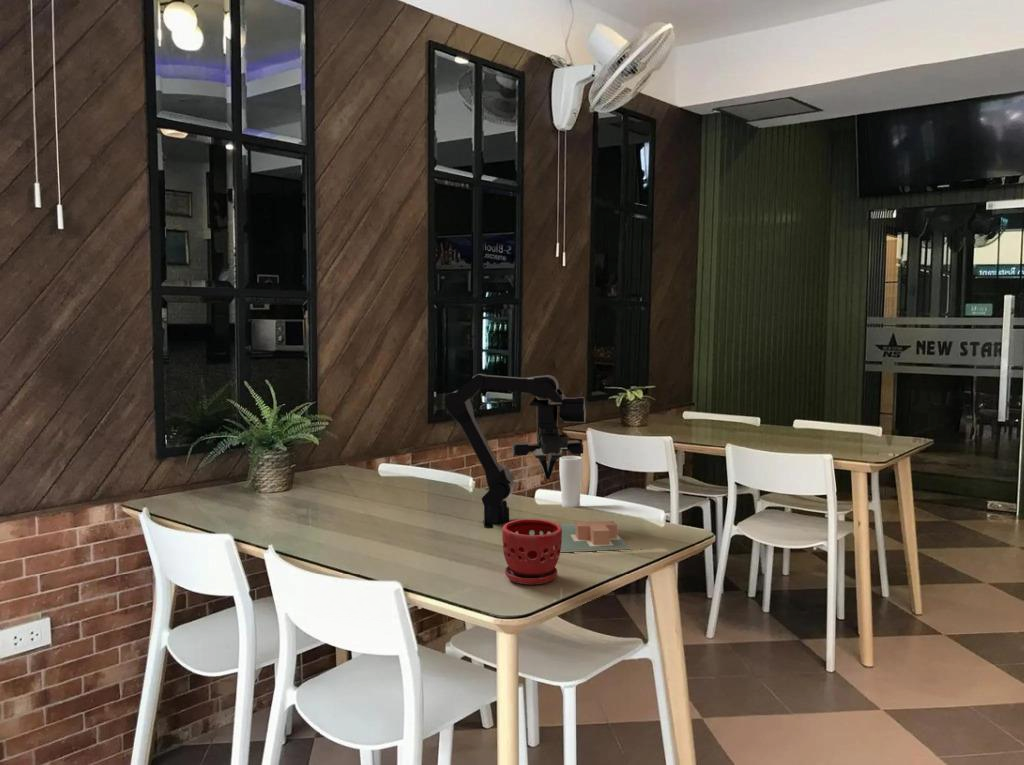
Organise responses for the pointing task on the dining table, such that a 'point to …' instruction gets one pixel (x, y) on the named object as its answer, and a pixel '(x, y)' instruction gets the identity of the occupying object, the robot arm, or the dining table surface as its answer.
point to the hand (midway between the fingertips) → (547, 479)
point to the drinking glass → (570, 480)
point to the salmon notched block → (596, 531)
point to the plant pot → (531, 550)
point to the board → (584, 541)
